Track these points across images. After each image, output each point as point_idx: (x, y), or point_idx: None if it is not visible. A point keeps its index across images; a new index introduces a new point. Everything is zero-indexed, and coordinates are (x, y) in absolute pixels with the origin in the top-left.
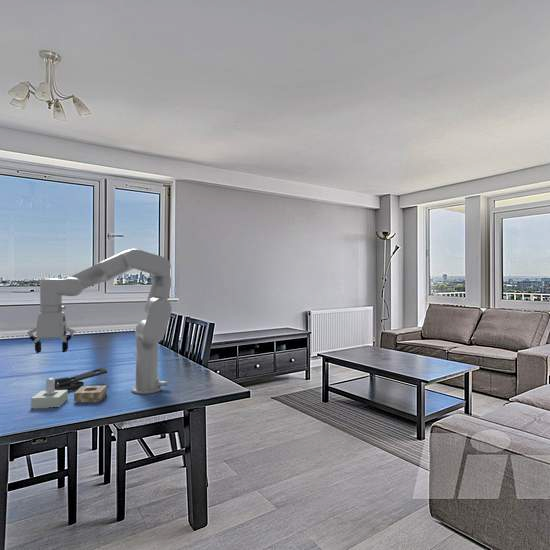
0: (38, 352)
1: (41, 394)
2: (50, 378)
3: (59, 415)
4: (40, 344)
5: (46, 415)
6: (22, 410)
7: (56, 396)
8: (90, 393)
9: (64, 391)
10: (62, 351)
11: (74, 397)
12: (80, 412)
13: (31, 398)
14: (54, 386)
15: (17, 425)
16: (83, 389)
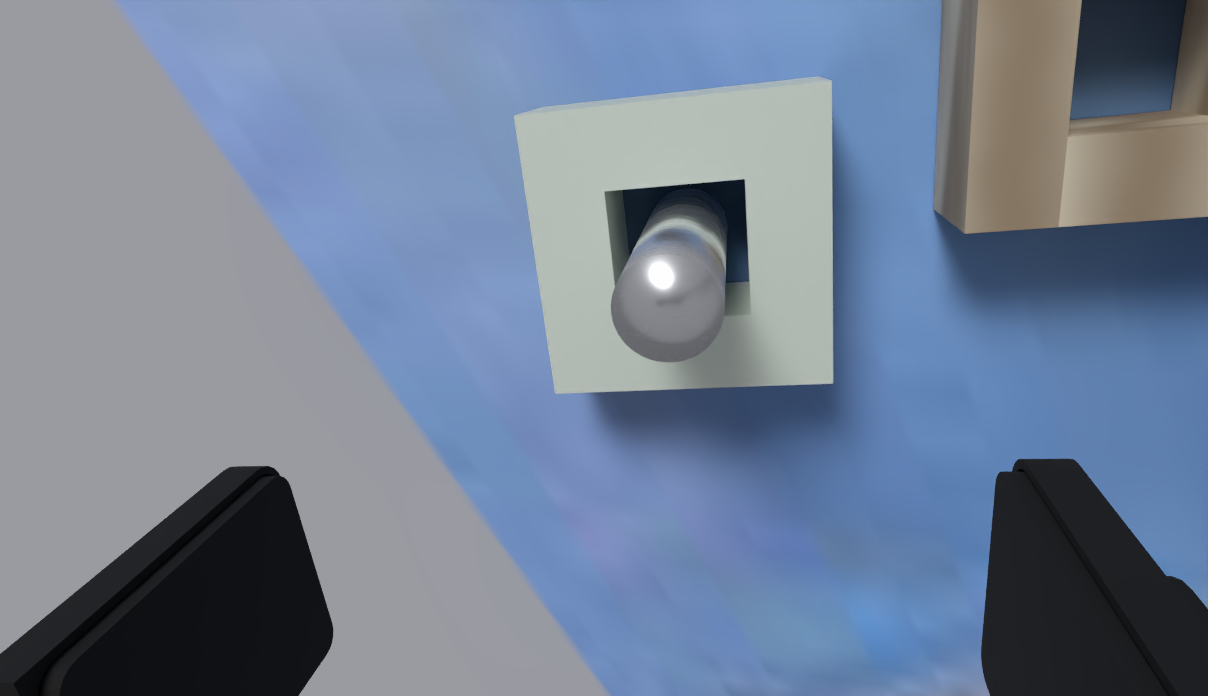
0: (329, 629)
1: (591, 271)
2: (654, 286)
3: (902, 532)
4: (139, 662)
5: (791, 522)
6: (530, 393)
7: (793, 354)
8: (1180, 216)
9: (813, 159)
10: (993, 687)
11: (953, 220)
12: None
13: (558, 391)
14: (725, 275)
15: (673, 676)
16: (1053, 60)
